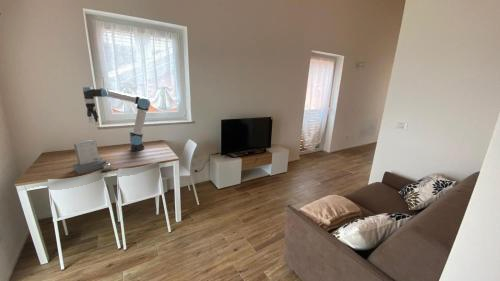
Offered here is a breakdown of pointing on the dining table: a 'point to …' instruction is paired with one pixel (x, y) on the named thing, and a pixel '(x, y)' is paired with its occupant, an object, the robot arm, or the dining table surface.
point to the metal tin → (107, 166)
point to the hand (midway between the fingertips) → (94, 123)
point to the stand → (88, 166)
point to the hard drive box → (86, 152)
